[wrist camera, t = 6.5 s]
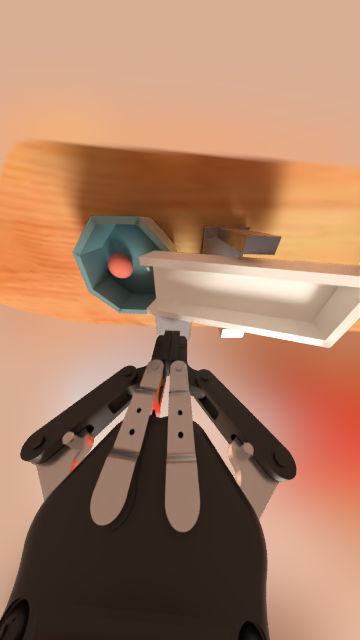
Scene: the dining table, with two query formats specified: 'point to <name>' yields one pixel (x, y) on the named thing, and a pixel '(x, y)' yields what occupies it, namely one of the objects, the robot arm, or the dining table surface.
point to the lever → (254, 296)
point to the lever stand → (237, 249)
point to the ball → (120, 265)
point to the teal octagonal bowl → (128, 239)
